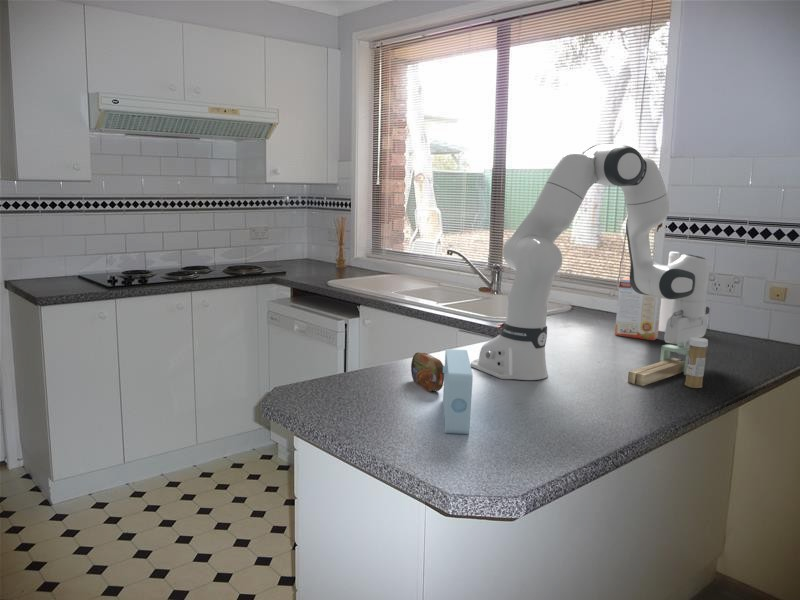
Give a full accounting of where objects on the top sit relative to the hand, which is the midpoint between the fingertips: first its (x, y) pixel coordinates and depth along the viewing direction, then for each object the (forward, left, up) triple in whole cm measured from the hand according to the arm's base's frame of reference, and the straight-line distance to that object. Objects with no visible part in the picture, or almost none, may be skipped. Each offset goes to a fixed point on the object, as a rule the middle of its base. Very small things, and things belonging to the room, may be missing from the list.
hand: (682, 354), depth 207 cm
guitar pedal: (-12, -87, -5) cm, 88 cm away
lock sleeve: (0, -4, -4) cm, 6 cm away
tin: (-32, -76, -5) cm, 83 cm away
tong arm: (+1, -15, -4) cm, 16 cm away
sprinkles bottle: (+11, -15, -5) cm, 19 cm away
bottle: (-30, +51, -5) cm, 59 cm away
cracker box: (-31, +30, -5) cm, 43 cm away
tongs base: (-1, -14, -4) cm, 15 cm away
